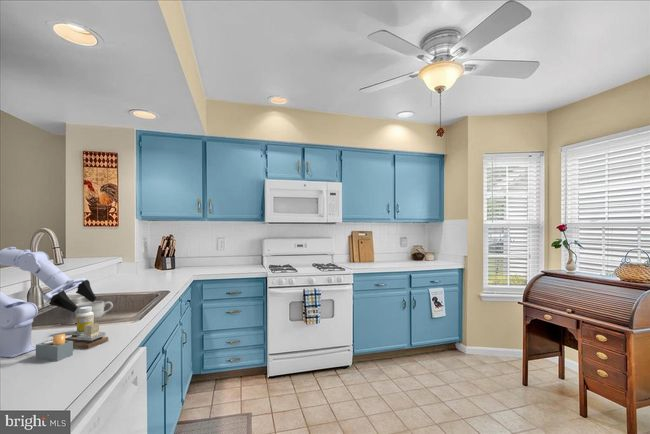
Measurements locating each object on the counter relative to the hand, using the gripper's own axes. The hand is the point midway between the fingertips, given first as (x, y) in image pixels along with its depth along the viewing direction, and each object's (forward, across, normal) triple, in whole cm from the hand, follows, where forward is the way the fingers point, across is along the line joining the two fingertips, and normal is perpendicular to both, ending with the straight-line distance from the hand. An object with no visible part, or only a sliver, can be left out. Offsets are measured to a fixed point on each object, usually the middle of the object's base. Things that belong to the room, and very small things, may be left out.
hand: (85, 304), depth 109 cm
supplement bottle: (+1, +14, +25) cm, 29 cm away
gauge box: (+6, -9, +14) cm, 17 cm away
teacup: (-4, +29, +34) cm, 45 cm away
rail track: (+6, +3, +16) cm, 18 cm away
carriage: (+8, +3, +12) cm, 14 cm away
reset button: (+6, -9, +11) cm, 15 cm away
